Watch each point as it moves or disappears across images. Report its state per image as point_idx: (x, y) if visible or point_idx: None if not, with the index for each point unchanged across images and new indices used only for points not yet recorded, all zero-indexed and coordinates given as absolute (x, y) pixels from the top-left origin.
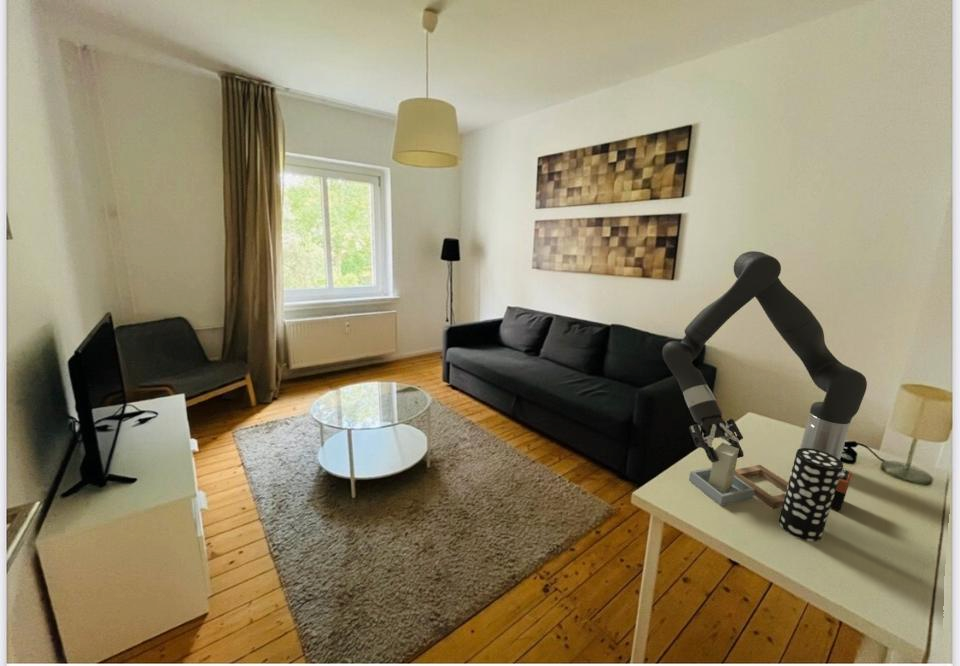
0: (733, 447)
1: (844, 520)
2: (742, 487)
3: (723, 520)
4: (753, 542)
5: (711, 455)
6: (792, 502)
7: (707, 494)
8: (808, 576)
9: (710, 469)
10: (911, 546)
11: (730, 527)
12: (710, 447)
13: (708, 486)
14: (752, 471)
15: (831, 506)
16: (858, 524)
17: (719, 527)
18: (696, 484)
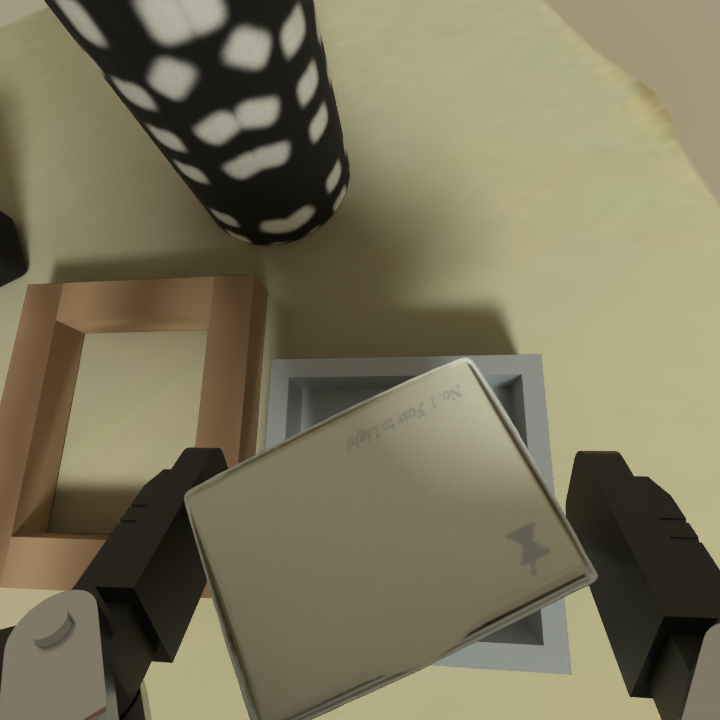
0: (228, 548)
1: (54, 181)
2: (294, 428)
3: (594, 281)
4: (558, 150)
5: (679, 523)
6: (317, 40)
7: None
8: (487, 8)
9: None
10: (5, 60)
11: (595, 237)
12: (695, 638)
13: (550, 470)
14: (81, 538)
15: (11, 233)
16: (33, 157)
17: (656, 247)
18: None
